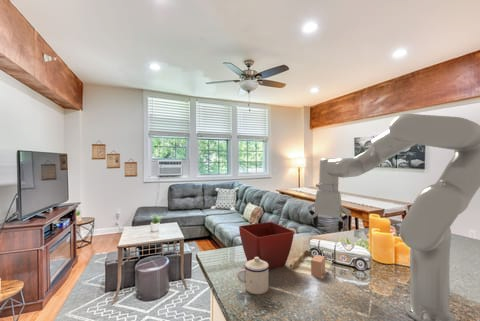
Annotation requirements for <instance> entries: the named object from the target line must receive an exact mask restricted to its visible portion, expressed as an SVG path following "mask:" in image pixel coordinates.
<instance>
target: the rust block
mask: <svg viewBox="0 0 480 321" xmlns="http://www.w3.org/2000/svg"><path fill="white" fill-rule="evenodd" d="M324 271H325V256H321V255H315V256H314V257H313V258H312V260H311V275H310V276H312V275H315V276H314V277H316V276H319V277H318V278H320V277H321V276H322V275H323V273H324Z"/></svg>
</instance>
